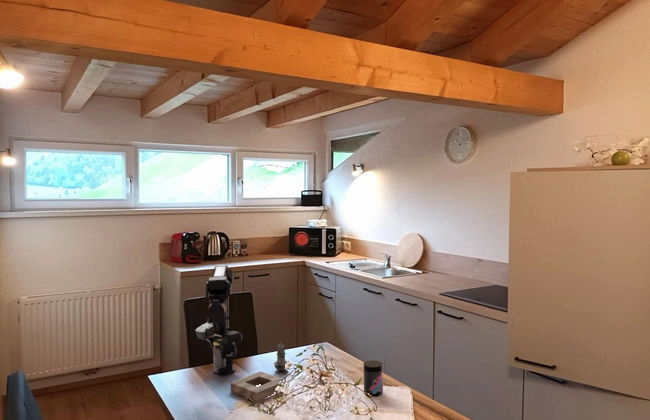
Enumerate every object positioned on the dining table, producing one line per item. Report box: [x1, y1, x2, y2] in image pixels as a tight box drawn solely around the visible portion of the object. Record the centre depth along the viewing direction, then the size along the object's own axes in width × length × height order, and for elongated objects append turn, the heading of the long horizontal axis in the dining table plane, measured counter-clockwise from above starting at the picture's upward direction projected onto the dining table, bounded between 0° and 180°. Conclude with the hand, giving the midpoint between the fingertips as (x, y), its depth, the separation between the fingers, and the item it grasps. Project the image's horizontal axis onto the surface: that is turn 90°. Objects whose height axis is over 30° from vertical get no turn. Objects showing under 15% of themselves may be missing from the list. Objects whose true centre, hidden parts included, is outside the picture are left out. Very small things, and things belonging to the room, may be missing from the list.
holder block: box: [230, 371, 283, 403], centre depth 171 cm, size 14×14×4 cm
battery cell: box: [212, 339, 225, 369], centre depth 169 cm, size 4×4×9 cm
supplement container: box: [363, 359, 384, 397], centre depth 168 cm, size 7×7×10 cm
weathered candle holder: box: [273, 342, 289, 376], centre depth 189 cm, size 6×6×12 cm
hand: (219, 357), depth 169 cm, fingers closed on battery cell, 4 cm apart
